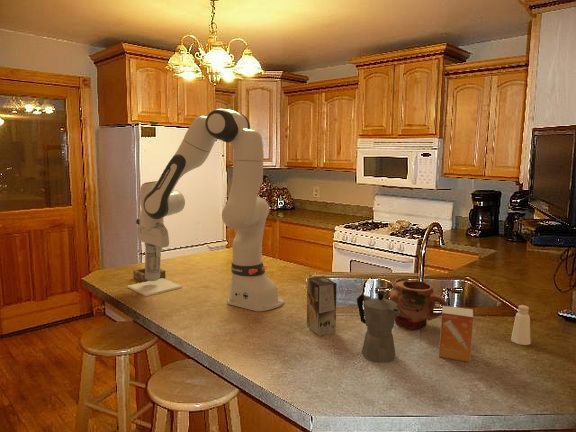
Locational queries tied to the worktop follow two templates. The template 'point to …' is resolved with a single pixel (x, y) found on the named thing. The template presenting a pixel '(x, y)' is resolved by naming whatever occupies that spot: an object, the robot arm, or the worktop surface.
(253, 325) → the worktop surface
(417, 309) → the decorative planter
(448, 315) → the small box
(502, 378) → the worktop surface
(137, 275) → the holder
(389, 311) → the coffeepot
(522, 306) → the salt shaker
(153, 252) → the energy drink can
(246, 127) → the robot arm
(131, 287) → the tile
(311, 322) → the coffee box
